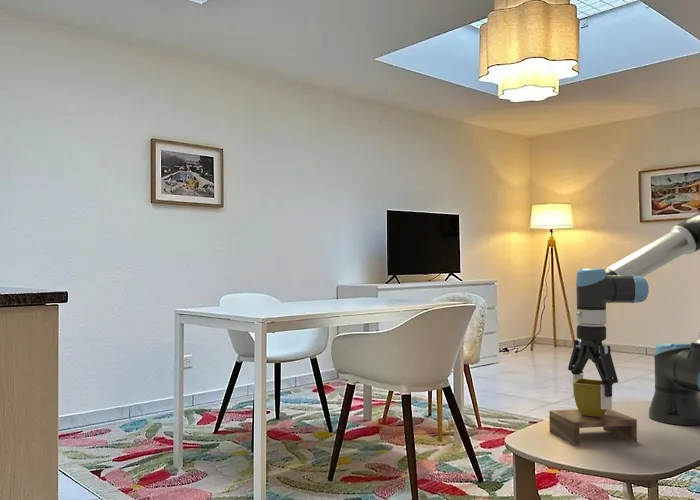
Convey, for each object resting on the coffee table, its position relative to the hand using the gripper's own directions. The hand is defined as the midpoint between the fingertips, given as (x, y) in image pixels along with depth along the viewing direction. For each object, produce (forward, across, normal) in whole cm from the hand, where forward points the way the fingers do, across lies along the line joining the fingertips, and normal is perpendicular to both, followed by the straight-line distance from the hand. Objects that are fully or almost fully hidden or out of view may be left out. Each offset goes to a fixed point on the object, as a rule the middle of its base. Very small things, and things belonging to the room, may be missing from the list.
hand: (591, 403), depth 168 cm
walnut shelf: (+9, 0, 0) cm, 9 cm away
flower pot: (+3, 0, 0) cm, 3 cm away
